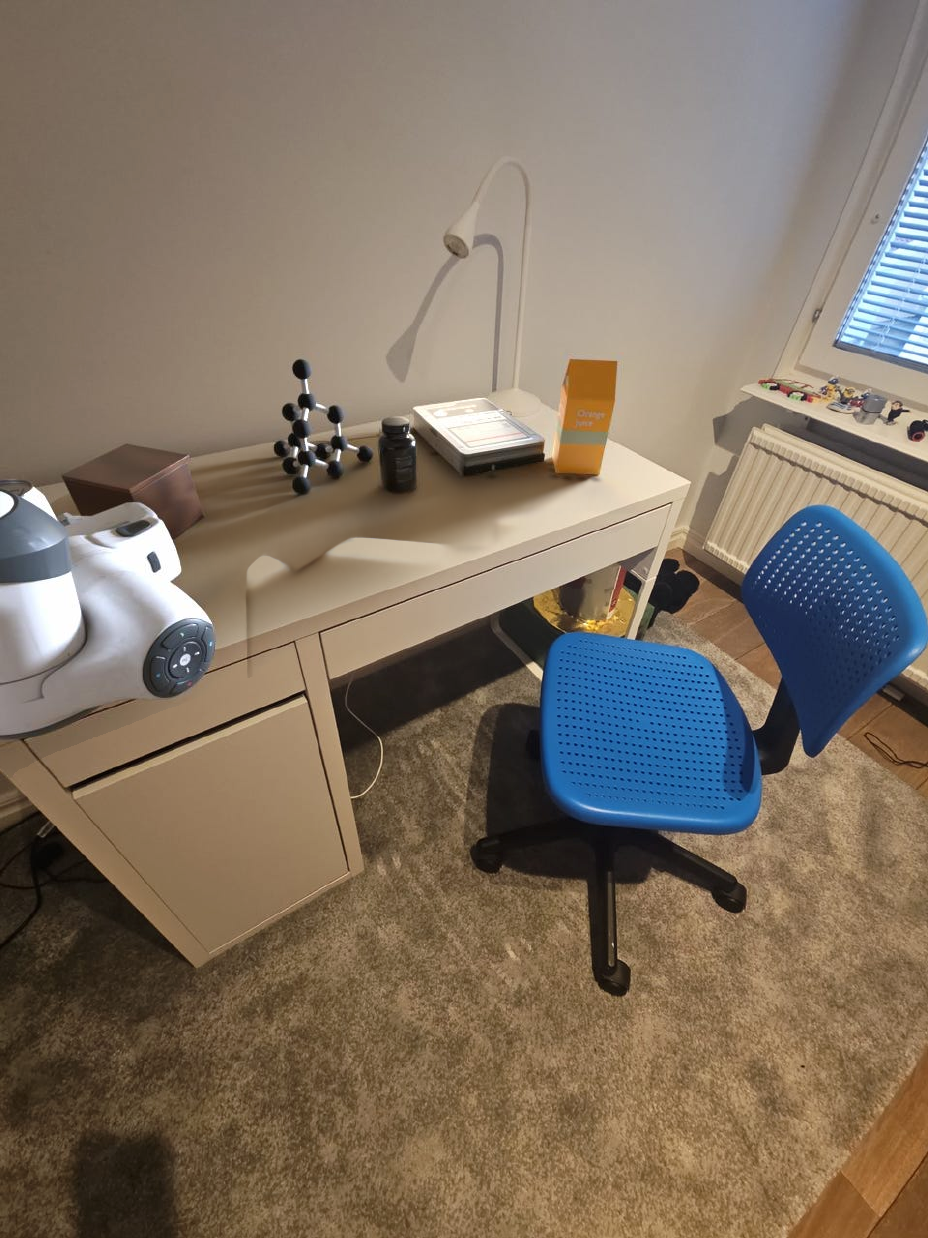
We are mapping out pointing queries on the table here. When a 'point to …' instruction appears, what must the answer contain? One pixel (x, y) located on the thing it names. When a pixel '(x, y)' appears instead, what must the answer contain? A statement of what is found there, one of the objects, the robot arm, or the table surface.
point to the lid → (126, 468)
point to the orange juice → (584, 416)
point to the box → (148, 499)
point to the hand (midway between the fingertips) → (23, 535)
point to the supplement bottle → (397, 456)
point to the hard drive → (478, 436)
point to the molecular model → (303, 430)
